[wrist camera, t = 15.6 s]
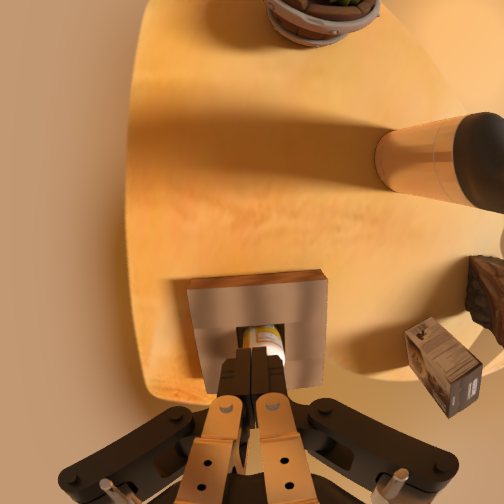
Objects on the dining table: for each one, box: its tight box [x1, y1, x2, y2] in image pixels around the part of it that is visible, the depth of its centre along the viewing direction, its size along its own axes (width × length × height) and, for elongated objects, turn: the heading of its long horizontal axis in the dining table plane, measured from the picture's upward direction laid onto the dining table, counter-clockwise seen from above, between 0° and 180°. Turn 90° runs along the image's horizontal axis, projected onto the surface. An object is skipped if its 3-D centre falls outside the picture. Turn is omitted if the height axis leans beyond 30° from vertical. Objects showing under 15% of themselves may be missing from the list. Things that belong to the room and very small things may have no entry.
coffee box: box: [404, 317, 483, 419], centre depth 36 cm, size 9×6×16 cm
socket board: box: [187, 269, 328, 394], centre depth 40 cm, size 18×18×4 cm
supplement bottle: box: [243, 324, 285, 367], centre depth 36 cm, size 5×5×10 cm
